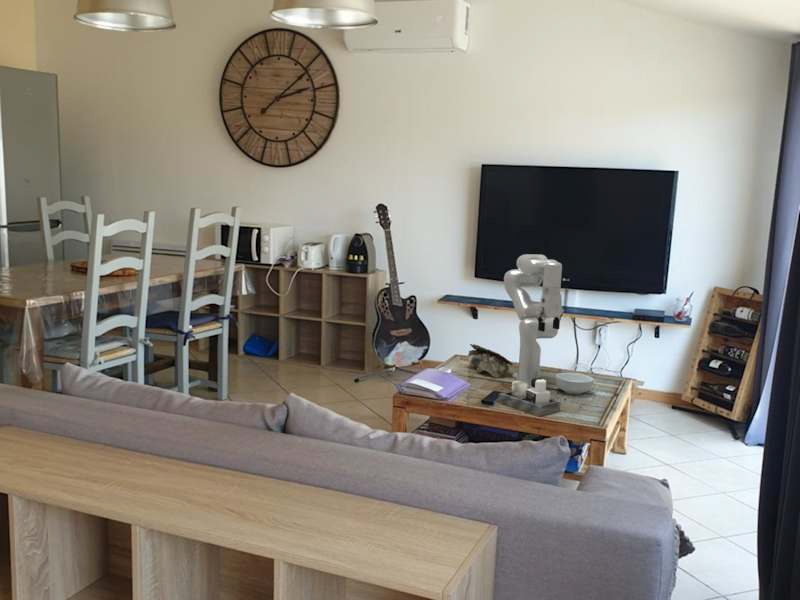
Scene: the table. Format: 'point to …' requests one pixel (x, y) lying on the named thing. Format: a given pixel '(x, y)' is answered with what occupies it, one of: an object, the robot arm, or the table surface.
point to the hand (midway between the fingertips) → (548, 329)
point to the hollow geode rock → (488, 361)
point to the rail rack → (518, 401)
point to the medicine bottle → (538, 392)
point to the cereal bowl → (574, 382)
